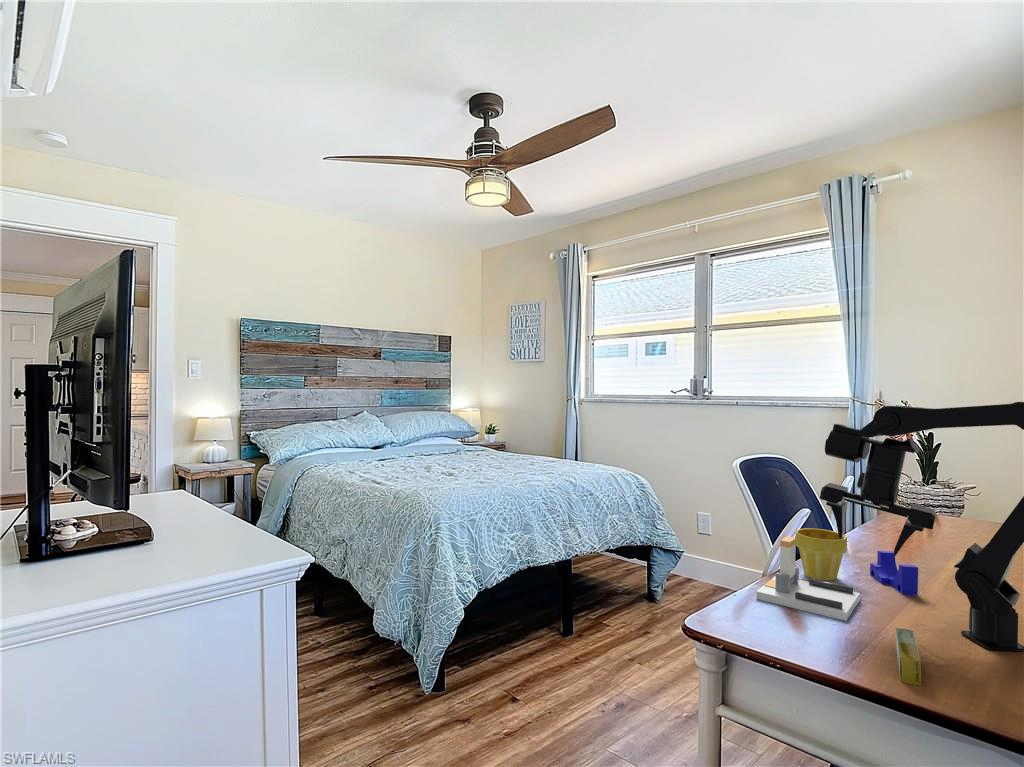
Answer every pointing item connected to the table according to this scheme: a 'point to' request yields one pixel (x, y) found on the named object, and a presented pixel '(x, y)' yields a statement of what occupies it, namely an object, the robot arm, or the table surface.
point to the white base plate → (810, 595)
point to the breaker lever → (788, 557)
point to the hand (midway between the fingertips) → (867, 546)
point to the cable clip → (895, 573)
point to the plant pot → (820, 552)
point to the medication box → (908, 657)
